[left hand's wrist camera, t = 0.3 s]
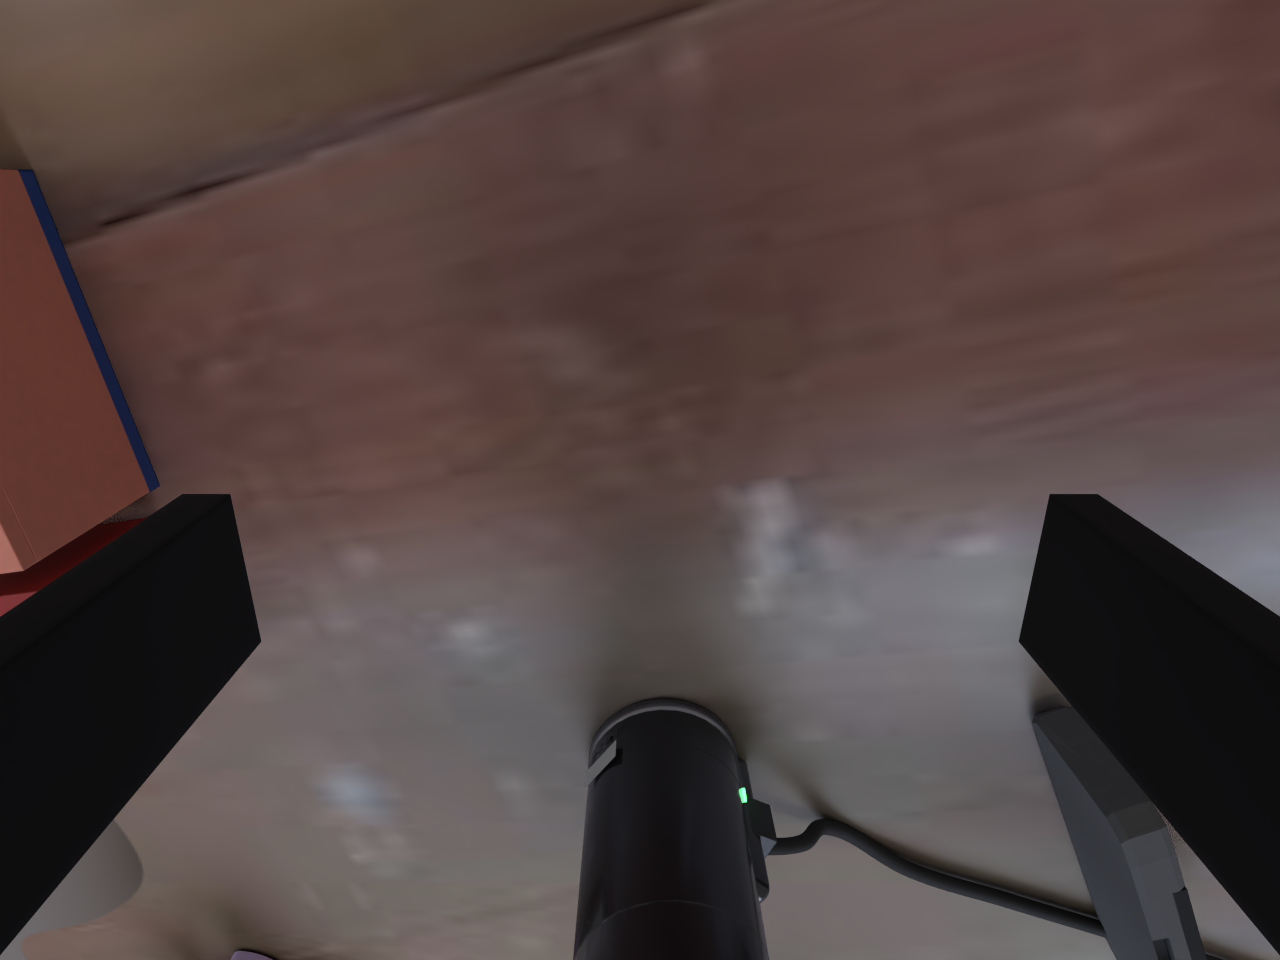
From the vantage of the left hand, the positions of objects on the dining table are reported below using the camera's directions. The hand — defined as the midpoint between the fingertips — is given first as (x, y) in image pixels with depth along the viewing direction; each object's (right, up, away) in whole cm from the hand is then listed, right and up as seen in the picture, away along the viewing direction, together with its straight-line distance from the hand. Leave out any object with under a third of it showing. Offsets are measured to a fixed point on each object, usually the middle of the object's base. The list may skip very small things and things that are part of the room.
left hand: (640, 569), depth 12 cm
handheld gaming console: (+30, -21, +38) cm, 53 cm away
